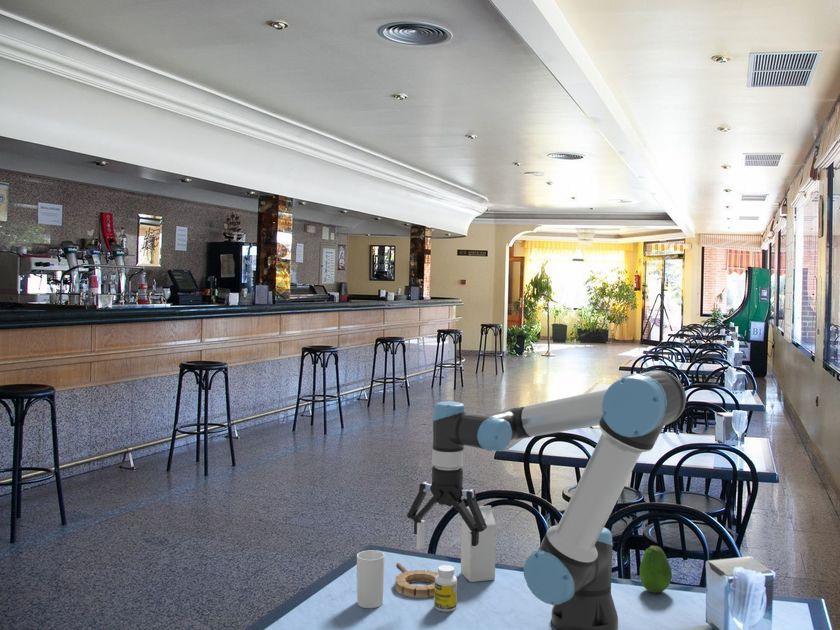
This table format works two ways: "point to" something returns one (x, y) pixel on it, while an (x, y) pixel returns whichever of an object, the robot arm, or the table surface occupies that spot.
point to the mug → (370, 578)
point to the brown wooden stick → (401, 567)
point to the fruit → (655, 570)
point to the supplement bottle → (445, 589)
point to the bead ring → (413, 590)
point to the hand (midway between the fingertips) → (445, 553)
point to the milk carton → (480, 550)
